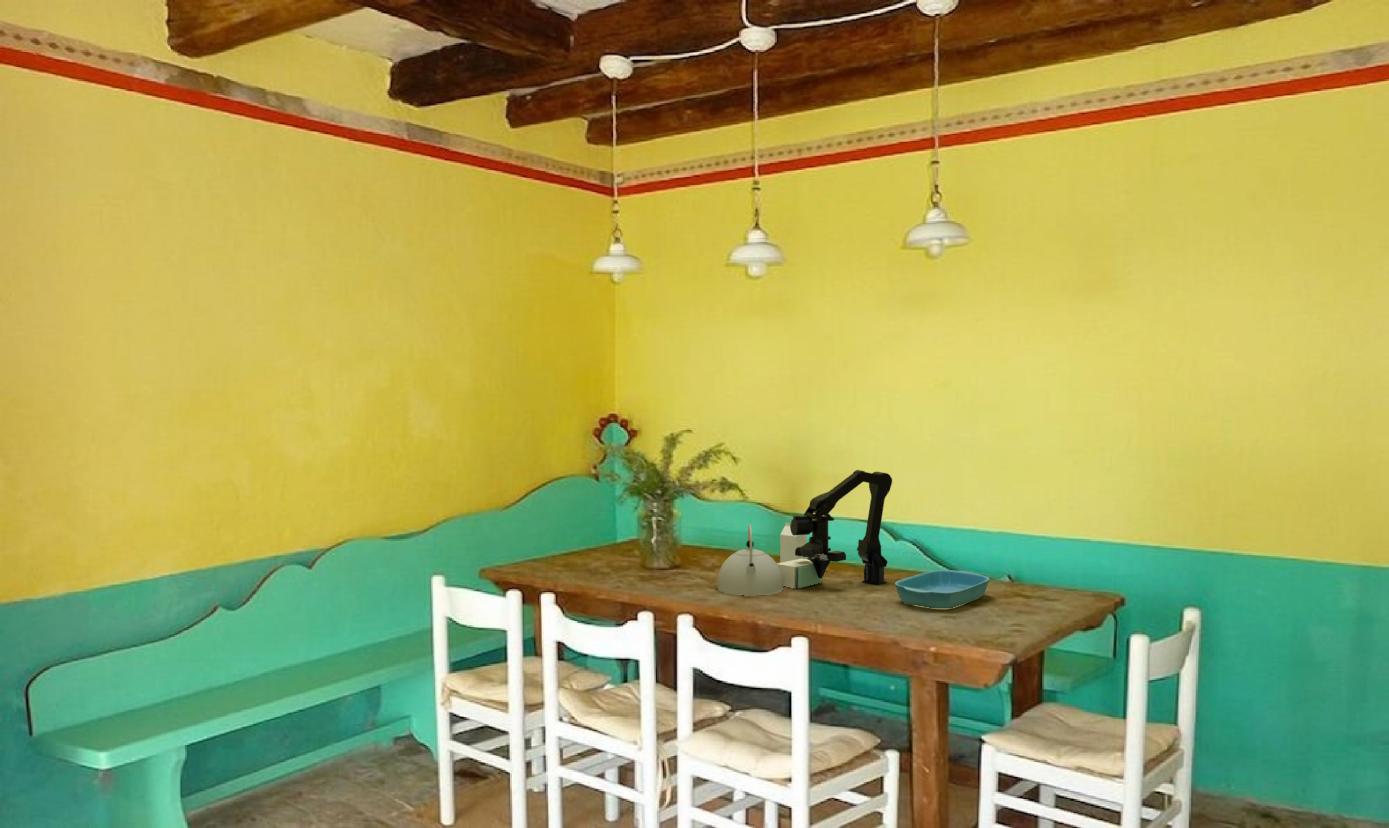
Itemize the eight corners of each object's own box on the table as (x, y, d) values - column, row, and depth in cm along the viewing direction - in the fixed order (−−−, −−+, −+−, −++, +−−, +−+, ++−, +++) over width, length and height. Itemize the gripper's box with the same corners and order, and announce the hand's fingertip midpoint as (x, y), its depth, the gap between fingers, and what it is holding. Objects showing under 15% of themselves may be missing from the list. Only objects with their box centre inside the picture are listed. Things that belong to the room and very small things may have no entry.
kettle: (785, 598, 332) (785, 531, 331) (717, 598, 332) (717, 531, 331) (780, 582, 357) (780, 519, 356) (717, 582, 357) (717, 519, 356)
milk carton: (796, 576, 366) (796, 525, 365) (780, 574, 370) (780, 523, 369) (806, 573, 371) (806, 523, 370) (790, 571, 375) (790, 521, 375)
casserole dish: (946, 616, 306) (946, 593, 306) (883, 605, 322) (883, 583, 321) (999, 596, 334) (999, 575, 333) (939, 587, 349) (939, 566, 348)
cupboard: (821, 583, 355) (821, 561, 354) (795, 589, 345) (795, 567, 344) (801, 579, 361) (801, 558, 361) (775, 585, 351) (775, 563, 351)
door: (803, 588, 344) (803, 569, 343) (797, 587, 345) (797, 568, 345) (824, 582, 352) (824, 564, 352) (819, 582, 354) (819, 563, 354)
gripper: (784, 533, 349) (784, 577, 349) (826, 539, 335) (826, 585, 336) (805, 530, 356) (805, 573, 357) (847, 535, 343) (847, 580, 343)
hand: (820, 578), depth 348 cm, fingers closed
